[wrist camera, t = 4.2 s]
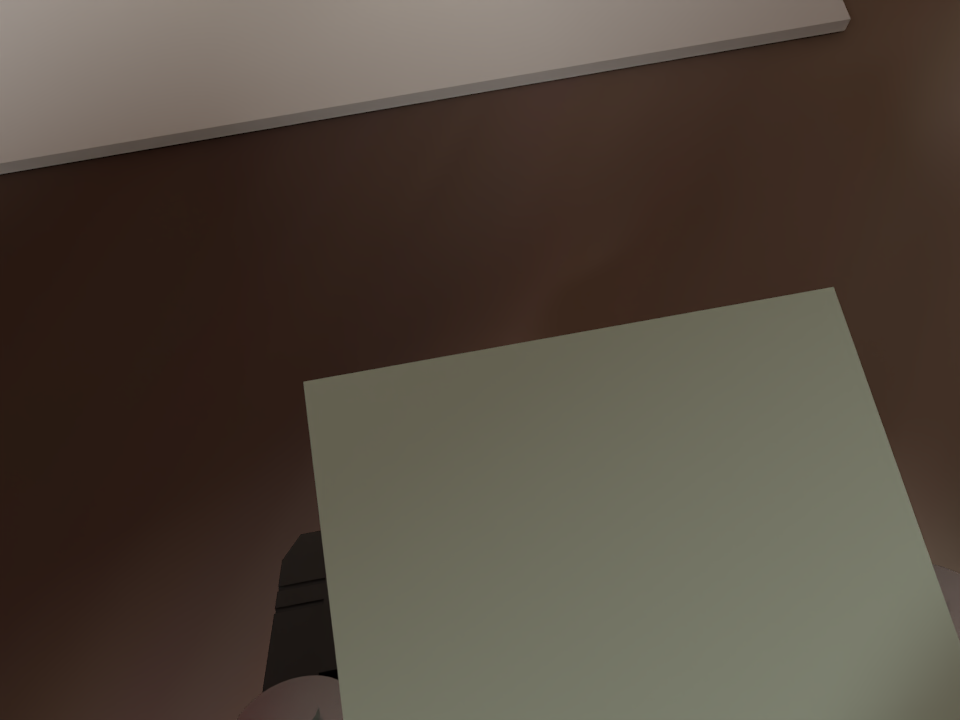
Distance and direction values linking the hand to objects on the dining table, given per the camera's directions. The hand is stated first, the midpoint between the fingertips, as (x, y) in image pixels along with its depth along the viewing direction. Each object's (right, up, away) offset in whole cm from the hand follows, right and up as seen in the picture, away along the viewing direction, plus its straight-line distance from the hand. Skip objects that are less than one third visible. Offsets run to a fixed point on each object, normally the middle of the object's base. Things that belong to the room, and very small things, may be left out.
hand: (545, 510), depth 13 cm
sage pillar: (0, -3, +4) cm, 6 cm away
